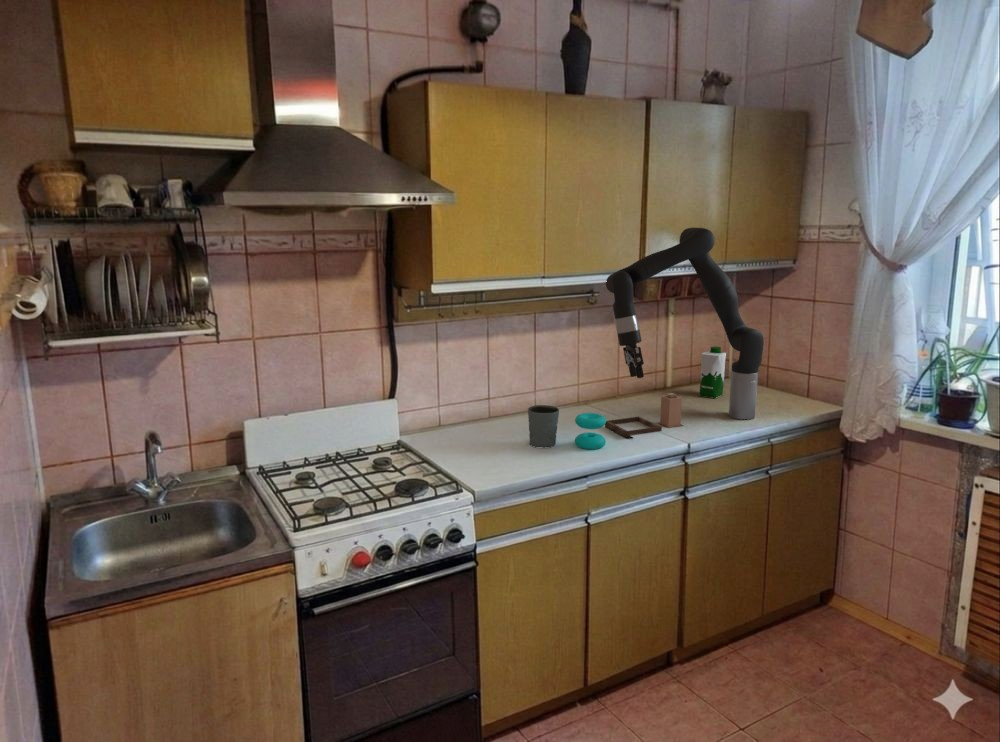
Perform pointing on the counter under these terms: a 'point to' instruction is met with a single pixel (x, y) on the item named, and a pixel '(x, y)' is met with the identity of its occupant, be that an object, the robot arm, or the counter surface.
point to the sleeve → (670, 411)
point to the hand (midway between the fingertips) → (637, 377)
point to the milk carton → (712, 372)
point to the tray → (627, 434)
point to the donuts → (589, 438)
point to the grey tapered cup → (543, 425)
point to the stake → (670, 395)
